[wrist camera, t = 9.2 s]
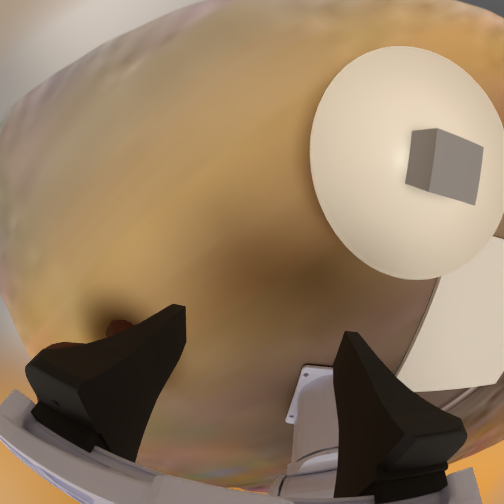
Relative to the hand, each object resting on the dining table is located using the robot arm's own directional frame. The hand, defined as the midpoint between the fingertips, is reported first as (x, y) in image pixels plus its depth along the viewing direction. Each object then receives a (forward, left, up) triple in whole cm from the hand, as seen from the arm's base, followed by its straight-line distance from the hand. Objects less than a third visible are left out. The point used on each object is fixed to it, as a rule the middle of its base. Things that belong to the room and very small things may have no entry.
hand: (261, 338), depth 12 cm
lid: (+9, -8, -5) cm, 13 cm away
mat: (-4, -23, -10) cm, 25 cm away
